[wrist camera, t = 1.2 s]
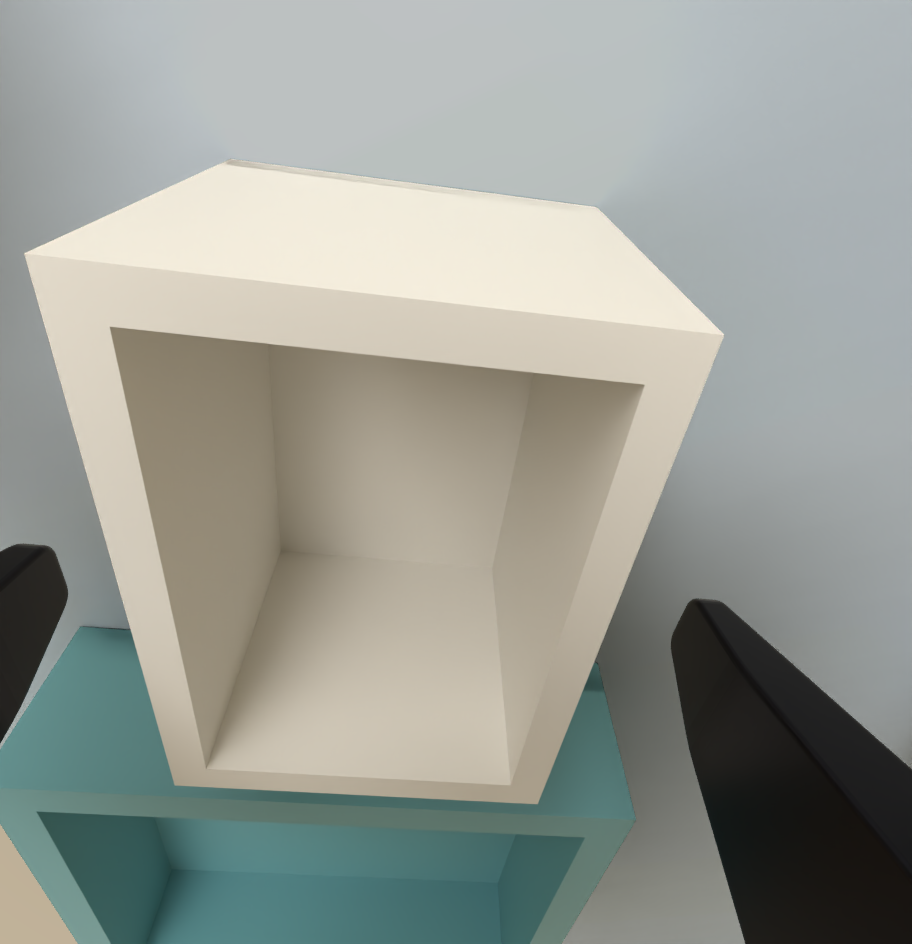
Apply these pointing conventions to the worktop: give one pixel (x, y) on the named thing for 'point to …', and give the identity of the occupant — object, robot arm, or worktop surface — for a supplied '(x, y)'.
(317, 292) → the small crate
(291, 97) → the worktop surface
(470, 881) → the big crate
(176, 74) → the worktop surface
